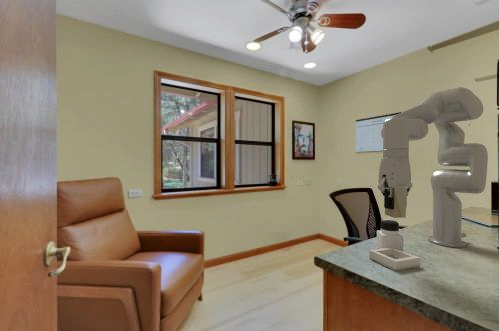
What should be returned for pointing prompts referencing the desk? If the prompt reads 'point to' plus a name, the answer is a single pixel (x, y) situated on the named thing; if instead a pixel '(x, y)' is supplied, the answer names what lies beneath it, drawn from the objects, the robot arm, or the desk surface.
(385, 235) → the medicine bottle
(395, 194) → the box
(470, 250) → the desk surface
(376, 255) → the shallow square tray
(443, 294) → the desk surface
